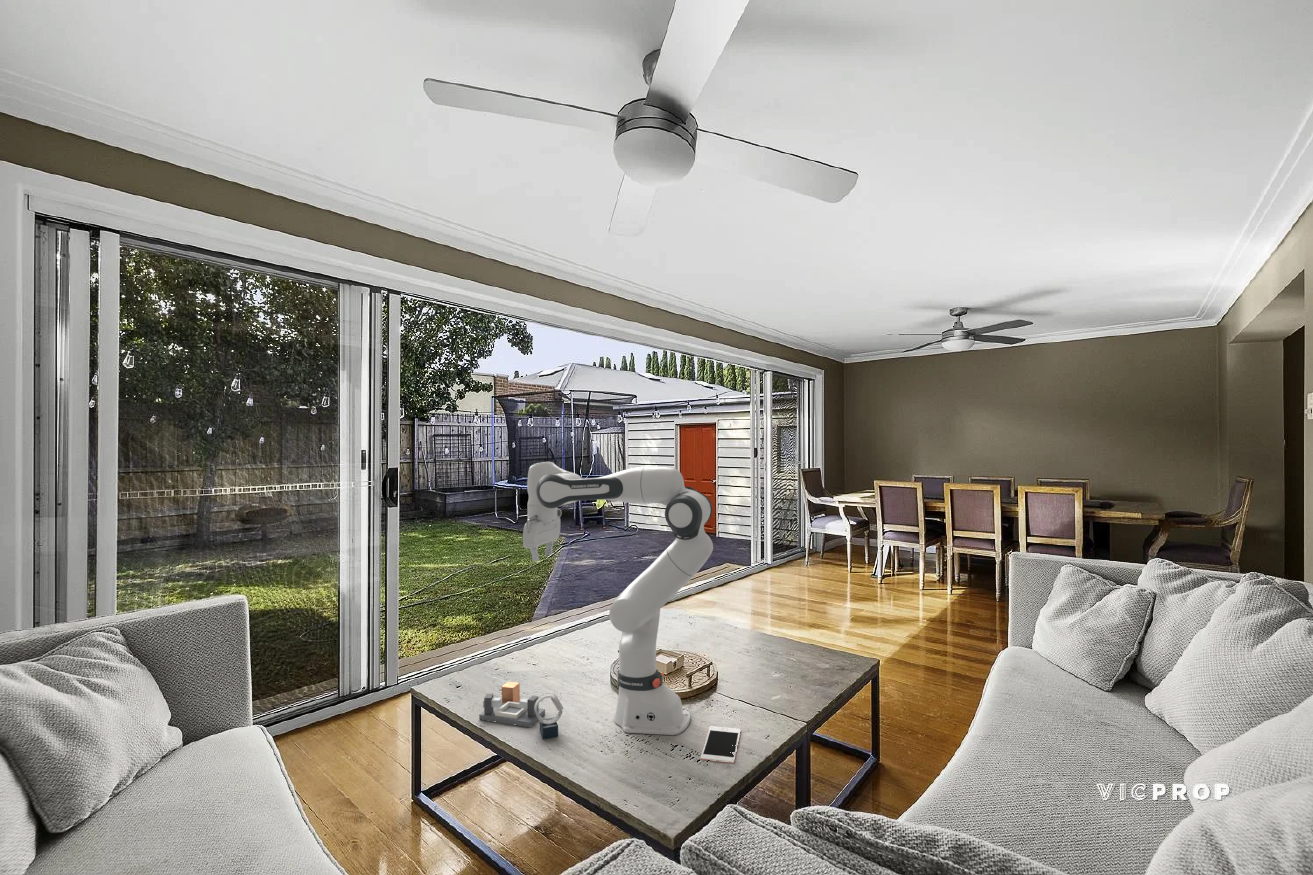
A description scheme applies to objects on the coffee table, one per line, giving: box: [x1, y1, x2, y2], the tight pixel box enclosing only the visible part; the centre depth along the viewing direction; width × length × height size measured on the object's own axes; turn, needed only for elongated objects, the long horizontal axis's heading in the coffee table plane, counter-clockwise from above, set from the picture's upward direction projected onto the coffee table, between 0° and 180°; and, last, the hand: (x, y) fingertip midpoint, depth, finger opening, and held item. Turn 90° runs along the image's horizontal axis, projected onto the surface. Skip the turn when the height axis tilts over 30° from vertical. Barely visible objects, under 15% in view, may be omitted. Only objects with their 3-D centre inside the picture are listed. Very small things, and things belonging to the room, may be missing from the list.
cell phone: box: [700, 725, 742, 762], centre depth 166 cm, size 9×18×1 cm, turn 167°
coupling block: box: [501, 681, 521, 703], centre depth 193 cm, size 4×4×6 cm
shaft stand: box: [478, 693, 546, 728], centre depth 184 cm, size 17×9×6 cm, turn 72°
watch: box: [534, 692, 564, 740], centre depth 173 cm, size 6×8×11 cm
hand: (542, 557), depth 191 cm, fingers open, 8 cm apart
